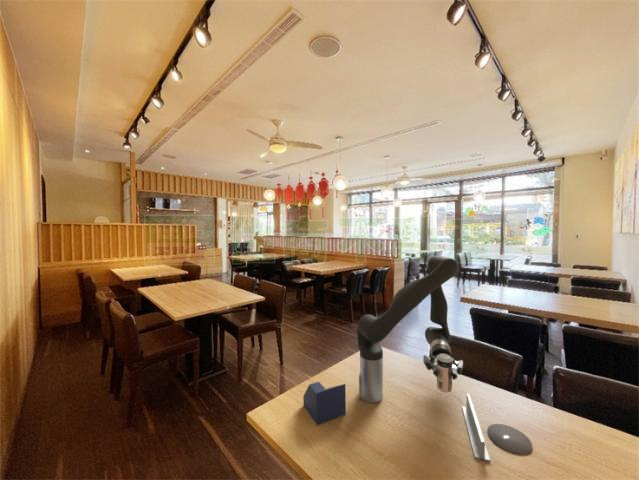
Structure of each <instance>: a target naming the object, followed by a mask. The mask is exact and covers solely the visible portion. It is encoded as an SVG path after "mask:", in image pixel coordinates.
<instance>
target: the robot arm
mask: <svg viewBox="0 0 639 480" xmlns="http://www.w3.org/2000/svg"><path fill="white" fill-rule="evenodd" d="M458 267H459V265H458V262H457V260H455V259H454V258H452V257H447V256H443V255H432V256H431V257H430V258H429V260H428V261H427V275H425V276H422V277H420V278H417V279H414V280H412V281H410V282H408V283H406V284H405V285H404V286H403V287H401V288H400V289H399V290H398V291H397V292H396V293H395V294H394V297H393V298H392V301H391V303H390V305H389V308H388V309H387V310H386V311H385V312H384V313H383V314H382V315H380V316H379V317H375V316H374V315H373V314H363V315H362V316H361V317H360V318H359V319H358V321H357V322H358V323H357V325H356V333H357V336H356V337H357V346H358V347H357V348H358V349H359V374H358V397H359V398H358V399H362V400H363V401H365V402H367V403H371V404H374V403H375V404H376V403H379V402H381V401H382V400H383V398H384V351H383V348H382V346H381V344H380V342H381V341H383V340H384V339H385V338H386V337H387V336H388V335H389V334H390V333H391V332H392V331H393V329H394V328H395V327H396V326H397V325H398V324H399V323H400V322H401V321H402V320H403V319H404V318H405V317H407V316H408V314H409V313H411V312H412V311H413V310H414V309H415V308H417V306H418V305H420V304H421V303H422V301H424V300H425V299H426V298H427V297H428V296H430V312H429V319H430V322H432V323H433V324H435V325H439V326H440V327H434V326H428V327H427V328H425V331H424V337H425V340H426V342H427V343H428V344H429V346H430V349H429V350H430V357H428V356H427V355H423V358H422V362H423V364H424V367H425V368H426V369H427V370H428V371H431V370H432V373H433V375H434V376H435V377H436V378H437V377H438V368H437V357H438V355H439V354H442V353H444V354H448V355H450V356H451V358H452V360H453V362H452V381H453V380H455V381H456V379H458V375H459V376H460V375H462V373H463V369H464V361H463V360H462V359H460V360H458V361H457V360H456V359H455V358H453V353H452V351H451V347H450V343H451V333H450V330H449V325H448V309H449V308H448V301H447V298H446V296H445V292H444V290H443V287H442V285H443V284H445V283H446V282H448V281H449V280H450V279H452V278H453V277H454V276H455V275H456V273H457V271H458Z"/></svg>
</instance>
